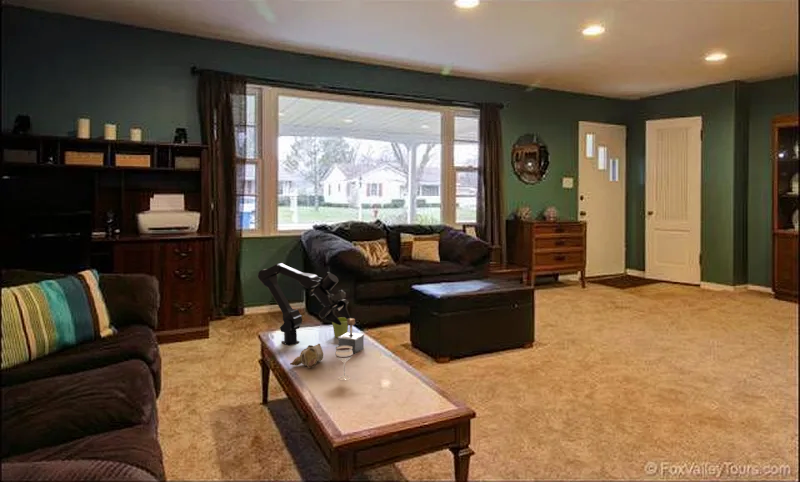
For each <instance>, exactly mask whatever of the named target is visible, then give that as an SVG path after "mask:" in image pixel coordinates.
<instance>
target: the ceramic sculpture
mask: <svg viewBox="0 0 800 482" xmlns="http://www.w3.org/2000/svg"><path fill="white" fill-rule="evenodd" d="M323 358H324V350H323V349H322V346H321V344H320V343H317V344H315V345H312V344H310V345H308V346H307V347H306V348H304V349H302V350H301V351H300V354H299V356H297V357H296V358H294V359H293V361H292V362H290V363H289V365H290V366H299V365H301V364H302V365H303V366H306V367H307V368H311V369H312V368H314V367H315V366H316V365H317V363H319V362H322V360H323Z"/></svg>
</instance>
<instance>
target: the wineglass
mask: <svg viewBox="0 0 800 482" xmlns="http://www.w3.org/2000/svg"><path fill="white" fill-rule="evenodd" d="M352 348H353V347H352V346H347V345H343V346H339V345H338V346H336V347H335V358H337V360H338V361H341V362H342V363H343V365H342V366H343V375H341V376H340V375H339V376H338V380H340V381H348V380H351V376H349V375H346V362H347V361H349V360H350V359H352V357H353V355H354V354H353V351H352Z"/></svg>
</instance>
